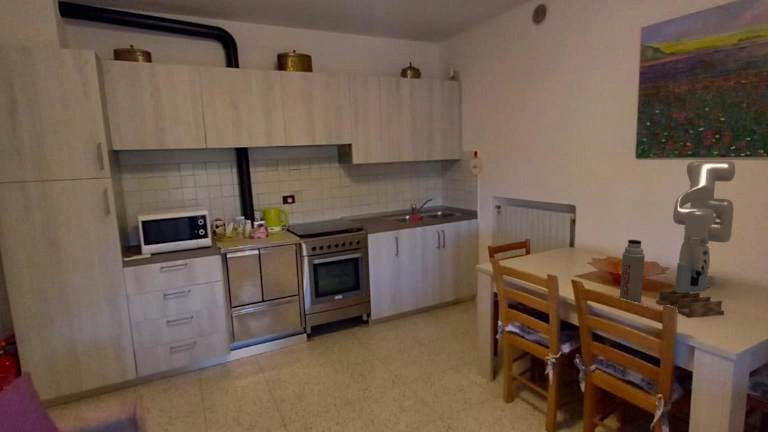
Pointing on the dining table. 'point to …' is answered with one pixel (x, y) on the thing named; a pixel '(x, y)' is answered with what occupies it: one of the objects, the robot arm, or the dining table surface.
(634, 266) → the thermos bottle
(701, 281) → the grey square block
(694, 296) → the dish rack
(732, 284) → the dining table surface
